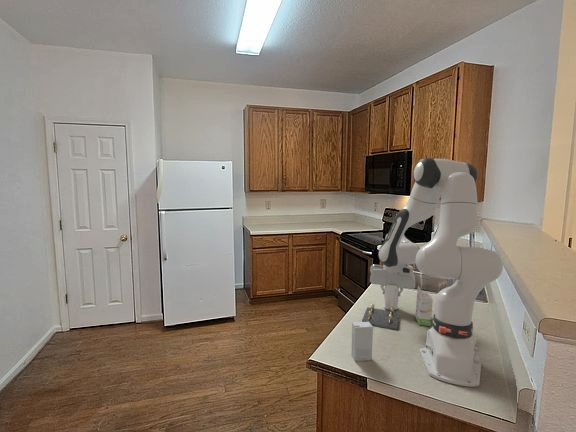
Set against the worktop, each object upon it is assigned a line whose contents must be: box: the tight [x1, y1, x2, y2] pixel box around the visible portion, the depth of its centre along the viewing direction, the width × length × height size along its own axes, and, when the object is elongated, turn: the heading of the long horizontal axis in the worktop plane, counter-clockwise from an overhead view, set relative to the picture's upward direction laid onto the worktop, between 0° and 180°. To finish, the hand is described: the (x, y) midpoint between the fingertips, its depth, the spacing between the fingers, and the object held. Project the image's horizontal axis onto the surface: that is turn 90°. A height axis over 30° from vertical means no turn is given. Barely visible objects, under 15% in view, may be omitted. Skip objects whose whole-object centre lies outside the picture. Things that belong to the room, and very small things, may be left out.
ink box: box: [415, 285, 434, 327], centre depth 138 cm, size 9×5×15 cm, turn 168°
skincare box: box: [351, 321, 374, 362], centre depth 109 cm, size 6×4×12 cm
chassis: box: [361, 303, 400, 331], centre depth 140 cm, size 15×14×4 cm
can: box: [383, 284, 400, 311], centre depth 151 cm, size 6×6×12 cm
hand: (391, 295), depth 151 cm, fingers closed on can, 5 cm apart
